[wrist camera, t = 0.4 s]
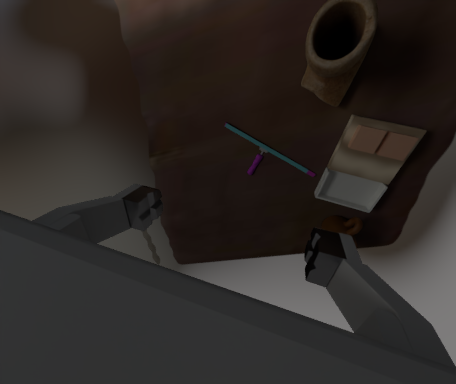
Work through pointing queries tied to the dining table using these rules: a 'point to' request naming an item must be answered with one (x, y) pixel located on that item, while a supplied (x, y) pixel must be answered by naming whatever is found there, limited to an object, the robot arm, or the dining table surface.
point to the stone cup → (338, 46)
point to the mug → (343, 226)
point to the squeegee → (266, 149)
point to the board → (366, 162)
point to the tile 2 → (396, 145)
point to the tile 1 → (366, 139)
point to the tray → (349, 190)
